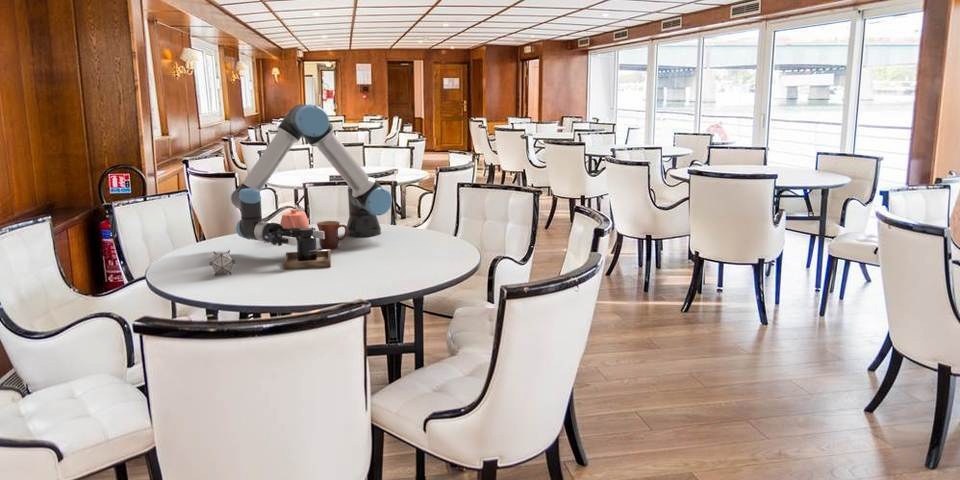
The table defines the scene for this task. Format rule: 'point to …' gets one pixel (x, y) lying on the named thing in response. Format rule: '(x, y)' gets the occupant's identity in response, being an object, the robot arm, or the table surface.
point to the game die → (222, 262)
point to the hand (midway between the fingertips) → (310, 238)
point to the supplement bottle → (306, 245)
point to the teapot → (294, 220)
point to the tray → (321, 261)
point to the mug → (330, 234)
